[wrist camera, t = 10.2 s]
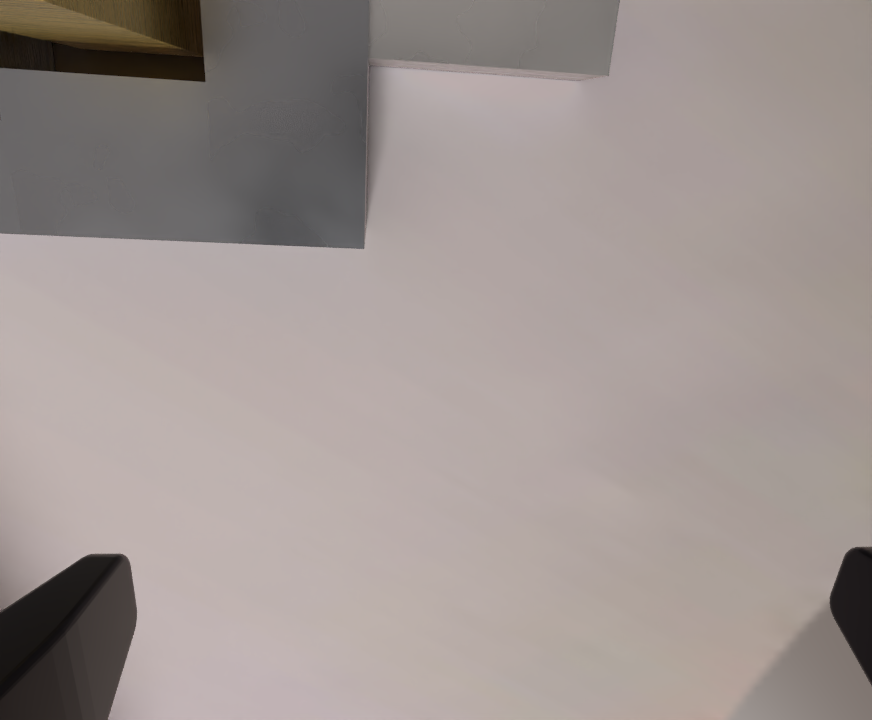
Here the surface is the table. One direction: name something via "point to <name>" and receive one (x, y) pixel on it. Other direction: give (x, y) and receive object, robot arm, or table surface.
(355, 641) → the table surface
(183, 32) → the gold square pillar
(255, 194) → the bracket
